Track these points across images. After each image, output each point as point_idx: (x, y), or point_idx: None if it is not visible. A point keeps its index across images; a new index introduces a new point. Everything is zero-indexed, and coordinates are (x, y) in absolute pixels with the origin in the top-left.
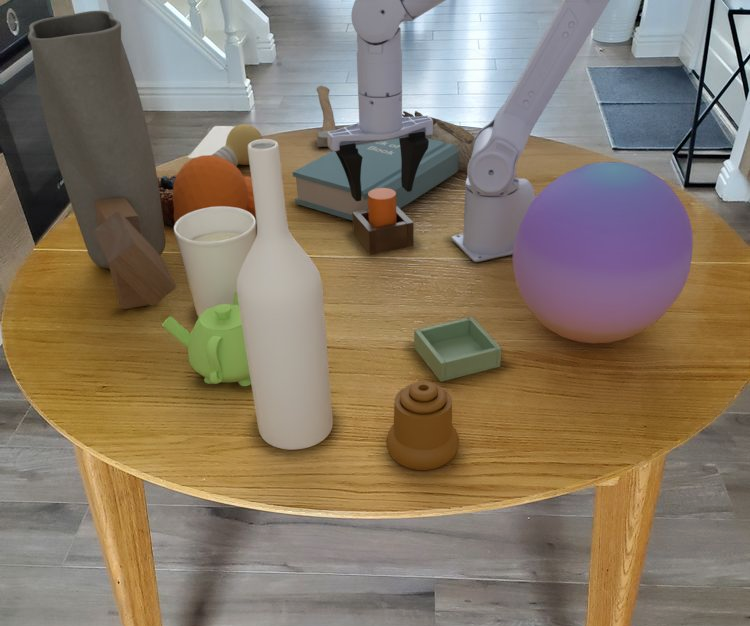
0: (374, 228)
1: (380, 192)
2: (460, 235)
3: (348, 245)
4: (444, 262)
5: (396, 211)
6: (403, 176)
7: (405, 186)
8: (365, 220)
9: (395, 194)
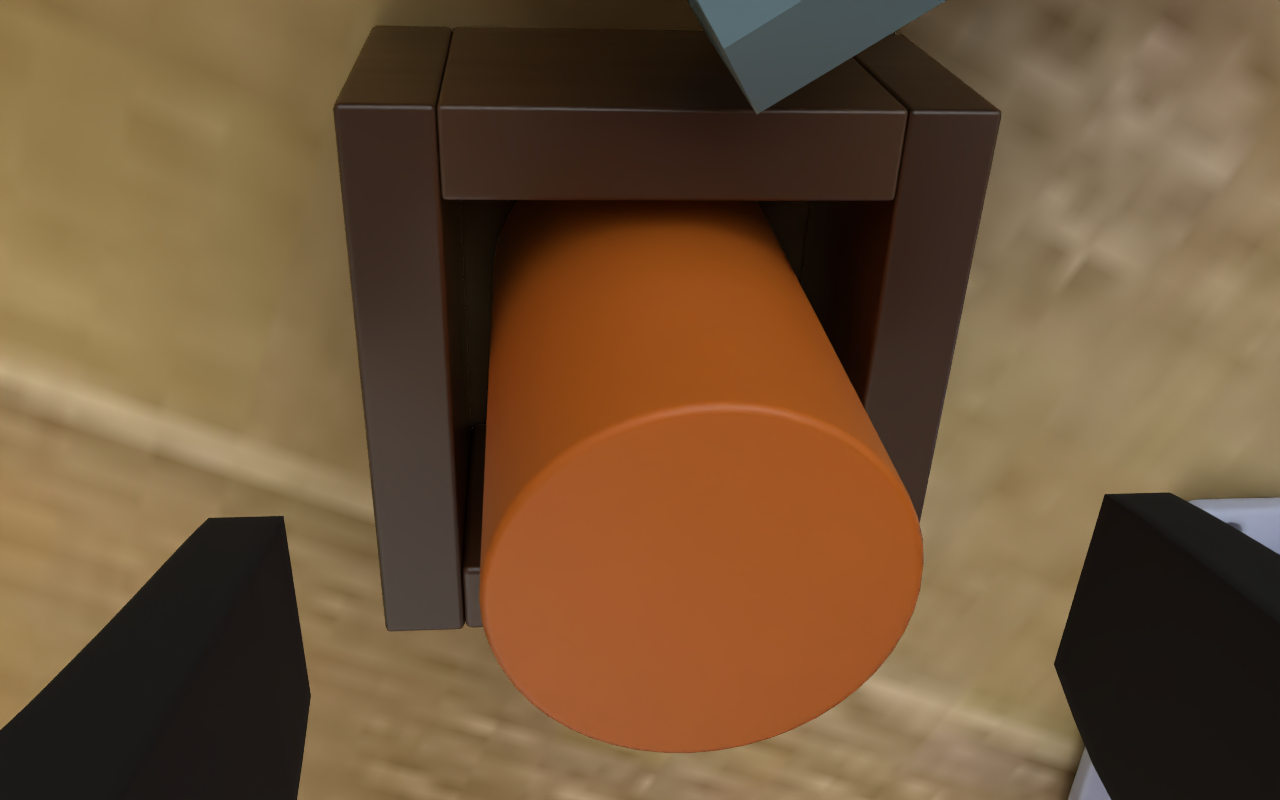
0: (467, 591)
1: (698, 563)
2: (1250, 532)
3: (256, 231)
4: (897, 742)
5: (888, 327)
6: (1193, 651)
7: (1094, 644)
8: (434, 394)
9: (862, 682)
